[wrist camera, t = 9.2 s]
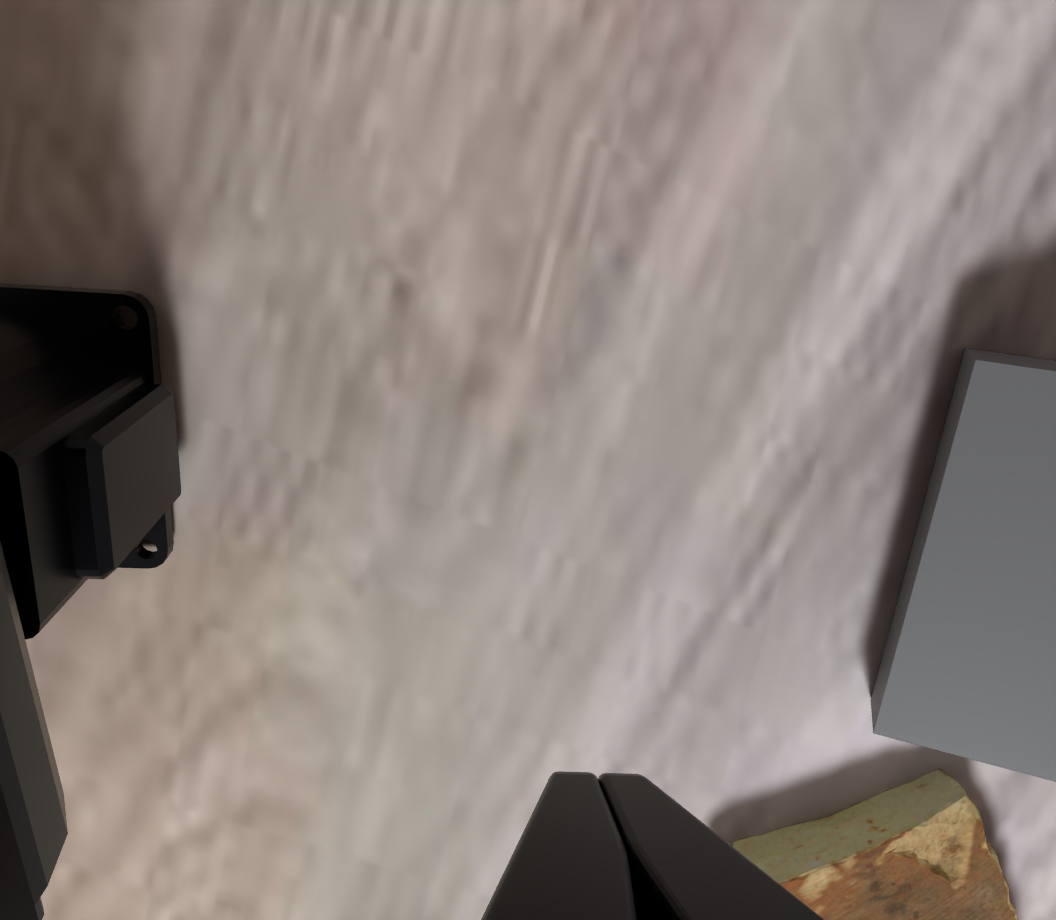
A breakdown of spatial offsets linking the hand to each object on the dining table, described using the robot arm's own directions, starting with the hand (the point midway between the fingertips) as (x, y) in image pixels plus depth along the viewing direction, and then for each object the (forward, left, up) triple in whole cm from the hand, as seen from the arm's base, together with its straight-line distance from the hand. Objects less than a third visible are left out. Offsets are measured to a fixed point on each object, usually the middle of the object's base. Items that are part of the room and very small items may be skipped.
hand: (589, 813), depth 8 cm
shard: (+14, -15, -14) cm, 25 cm away
